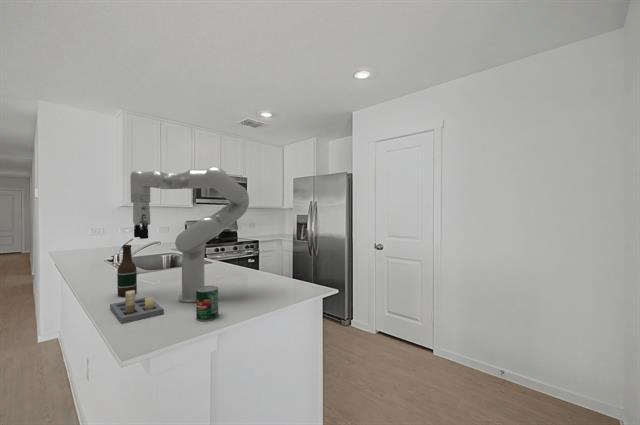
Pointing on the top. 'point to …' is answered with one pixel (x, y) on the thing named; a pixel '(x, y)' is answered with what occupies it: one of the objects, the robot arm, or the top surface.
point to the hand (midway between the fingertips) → (141, 237)
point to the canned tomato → (207, 303)
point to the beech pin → (130, 302)
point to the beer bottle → (126, 273)
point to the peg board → (137, 310)
